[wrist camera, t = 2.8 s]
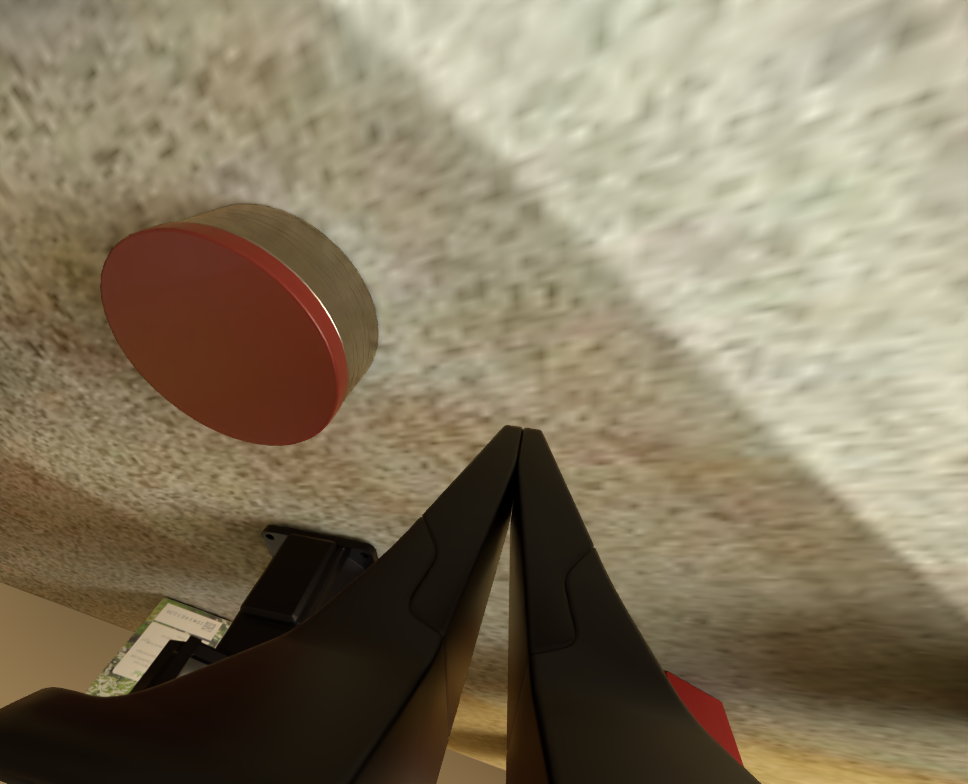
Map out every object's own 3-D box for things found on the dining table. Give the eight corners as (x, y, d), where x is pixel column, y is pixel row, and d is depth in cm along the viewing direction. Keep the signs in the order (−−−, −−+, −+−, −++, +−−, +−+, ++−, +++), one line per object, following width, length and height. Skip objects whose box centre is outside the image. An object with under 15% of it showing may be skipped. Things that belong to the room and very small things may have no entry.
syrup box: (170, 622, 35) (-28, 878, 24) (163, 593, 32) (-74, 877, 20) (234, 645, 36) (70, 908, 24) (234, 619, 32) (42, 912, 21)
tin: (390, 403, 16) (355, 461, 14) (227, 380, 17) (165, 430, 14) (366, 210, 12) (309, 241, 9) (151, 193, 13) (45, 216, 10)
